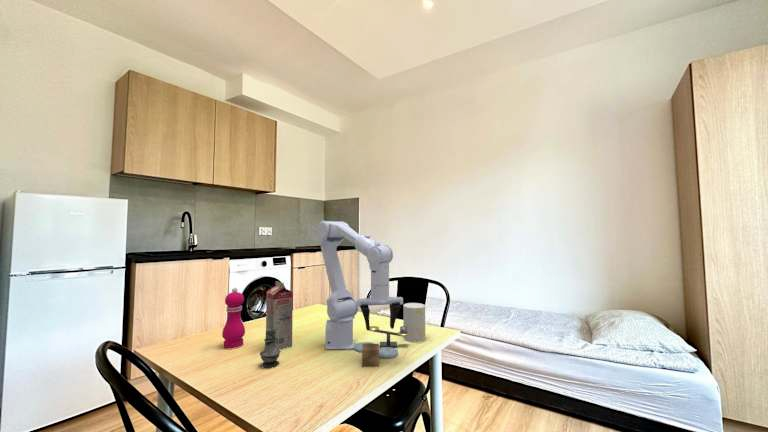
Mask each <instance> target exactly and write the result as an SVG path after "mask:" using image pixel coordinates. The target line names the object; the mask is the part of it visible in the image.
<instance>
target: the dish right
mask: <svg viewBox="0 0 768 432" xmlns="http://www.w3.org/2000/svg"><path fill="white" fill-rule="evenodd" d="M398 354H399V351H398V348H391V347H381V348H380V347H379V359H393V358H396V357H397V356H398Z"/></svg>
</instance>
